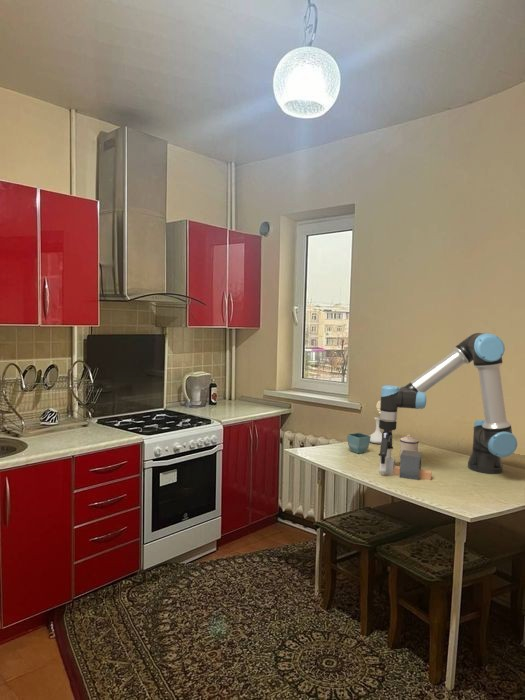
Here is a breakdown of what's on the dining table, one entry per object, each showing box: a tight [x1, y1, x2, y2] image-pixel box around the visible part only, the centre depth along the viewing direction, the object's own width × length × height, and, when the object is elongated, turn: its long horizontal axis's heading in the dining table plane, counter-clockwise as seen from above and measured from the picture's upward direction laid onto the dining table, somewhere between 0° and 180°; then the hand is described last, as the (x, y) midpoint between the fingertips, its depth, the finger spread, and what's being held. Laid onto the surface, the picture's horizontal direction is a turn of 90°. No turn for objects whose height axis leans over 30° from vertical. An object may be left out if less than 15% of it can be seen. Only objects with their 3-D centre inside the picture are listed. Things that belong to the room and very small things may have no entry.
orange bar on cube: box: [378, 457, 433, 481], centre depth 224 cm, size 22×5×6 cm, turn 68°
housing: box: [398, 450, 423, 481], centre depth 223 cm, size 8×10×10 cm
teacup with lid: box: [399, 433, 420, 457], centre depth 254 cm, size 12×9×12 cm
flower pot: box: [346, 432, 371, 454], centre depth 260 cm, size 9×9×9 cm
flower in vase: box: [369, 399, 383, 444], centre depth 281 cm, size 13×11×25 cm
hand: (385, 466), depth 227 cm, fingers open, 13 cm apart
